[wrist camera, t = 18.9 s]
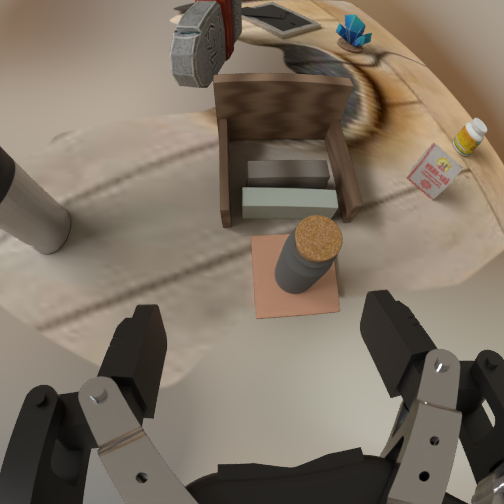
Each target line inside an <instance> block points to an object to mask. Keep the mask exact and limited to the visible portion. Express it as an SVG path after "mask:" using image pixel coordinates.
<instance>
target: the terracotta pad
mask: <svg viewBox="0 0 504 504" xmlns="http://www.w3.org/2000/svg"><path fill="white" fill-rule="evenodd" d="M289 235H290V234H284V235H263V236H251V248H252V263H253V278H254V293H255V308H256V319H263V318H277V317H289V316H302V315H313V314H322V313H333V312H339V311H340V306H339V296H338V287H337V280H336V272H335V265H334V261H333V264H332V266H331V267H330V269H329V270H328V271H327V272H326V273H325V274H324V275H323V276H322V277H321V278H320V279H319V280H318V281H317V282H316V283H315V284H314V285H312V286H311V287H310V288H309V289H308V290H306V291H305V292H303V293H300V294H291V293H287V292H285V291H284V290H282V289H281V288H280V287H279V286H278V284H277V282H276V280H275V267H276V264H277V262H278V259H279V256H280V254H281V251H282V248H283V246H284V244H285V241H286V239H287V238H288V236H289Z"/></svg>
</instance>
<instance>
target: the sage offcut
mask: <svg viewBox="0 0 504 504" xmlns="http://www.w3.org/2000/svg"><path fill="white" fill-rule="evenodd" d="M337 209H338V202H337V195H336V190H323V189H298V188H249V187H243V200H242V213H243V218H273V219H304V218H306V217H308V216H312V215H322V216H325V217H328V218H329V219H332V217H333V215H334V214H335V212H336V211H337Z"/></svg>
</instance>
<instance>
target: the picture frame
mask: <svg viewBox="0 0 504 504" xmlns="http://www.w3.org/2000/svg"><path fill="white" fill-rule="evenodd" d="M241 13H242V19H243V20H245V21H247V22H249V23H252V24H254V25H256V26H258V27H260V28H262V29H264V30H266V31H268V32H270V33H272V34H274V35H276V36H278V37H279V38H281V39H284V38H287V37H290V36H293V35H297V34H300V33H303V32H307V31H310V30H314V29H318V28H320V25H321V24H319V23H317V22H315V21H313V20H311V19H309V18H307V17H305V16H303V15H301V14H298V13H296V12H294V11H292V10H290V9H287V8H285V7H283V6H280V5H278V4H276V3H273V2H271V3H266V4H262V5H258V6H254V7H244V8H241Z"/></svg>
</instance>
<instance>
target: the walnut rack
mask: <svg viewBox="0 0 504 504" xmlns="http://www.w3.org/2000/svg"><path fill="white" fill-rule="evenodd" d="M213 83H214V93H215V94H214V95H215V105H216V115H217V124H218V134H219V161H220V212H221V218H222V224H223V228H225V227H231V213H230V185H229V152H228V141H231V140H255V139H318V140H325V143H326V147H327V151H328V155H329V159H330V163H331V167H332V172H333V176H334V181H335V185H336V190H337V194H338V199H339V204H340V209H341V214H342V220H343V223H347V222H351V220H352V219H353V218H354V216H355V215H356V214H357V213H358V211H359V210H360V209H361V208H362V206H363V205H362V201H361V196H360V192H359V188H358V184H357V180H356V176H355V173H354V169H353V165H352V161H351V158H350V154H349V151H348V147H347V144H346V141H345V137H344V134H343V131H342V128H341V124H340V120H341V118H342V115H343V112H344V110H345V107H346V104H347V102H348V99H349V96H350V94H351V91H352V88H353V84H352V82H351V80H350V78H342V77H332V76H321V75H307V74H284V73H245V74H222V75H214V79H213Z"/></svg>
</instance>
